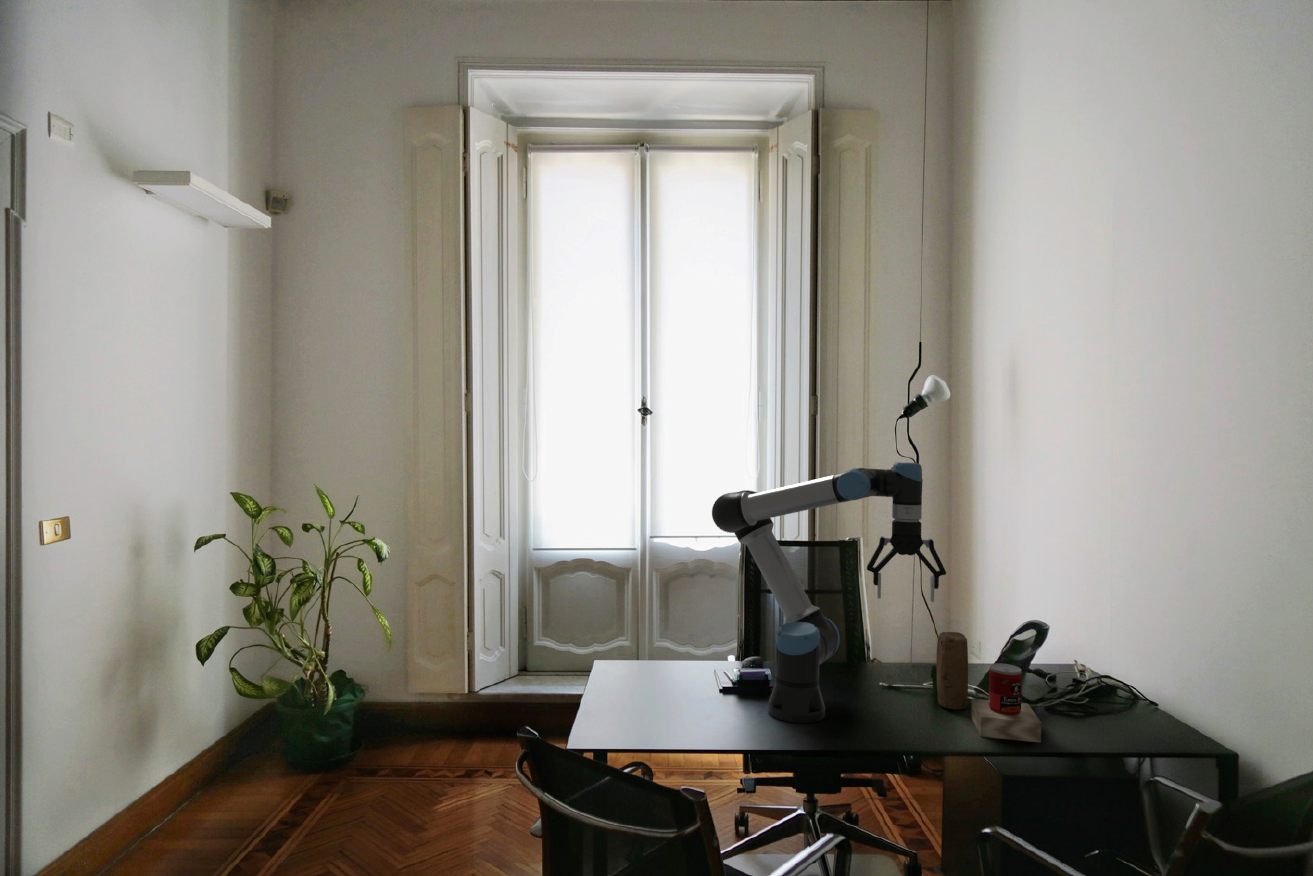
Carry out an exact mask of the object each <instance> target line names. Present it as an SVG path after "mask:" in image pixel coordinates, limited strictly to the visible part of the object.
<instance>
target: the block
mask: <svg viewBox="0 0 1313 876" xmlns="http://www.w3.org/2000/svg"><path fill="white" fill-rule="evenodd" d="M936 643H937V645H936V659H935V660H936V661H935V663H936V691H937V701H938V704H939V705H940V706H941V707H942V708H945V709H949V710H957V711H960V710H963V709H965V708H967V706H968V698H969V697H968V696H969V692H968V691H969V653H968V652H969V650H968V649H969V645H968V639H967V637H966V636H965V635H964V634H963V633H962V632H958V631H957V632H956V631H941V633H939V635H938V639H937V642H936Z"/></svg>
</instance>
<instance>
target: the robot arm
mask: <svg viewBox="0 0 1313 876" xmlns="http://www.w3.org/2000/svg"><path fill="white" fill-rule="evenodd" d="M923 480H924V479H923V467H922V465H921V464H920V463H918V462H899V461H898V462H894V463H893V466H892V468H891V469H889V468H888V469H887V468H886V469H884V468H883V469H881V468H865V467H857V468H856V467H854V468H851V469H849V470H847V471H845V472H842V473H838V474H832V475H829V476H824V477H820V478H816V479H811V480H807V481H803V482H798V483H795V484H789V485H785V486H782V487H777V488H772V489H768V490H764V491H760V492H757V491H753V490H745V489H744V490H740V491H736V492H728V493H724V494H722V495H721V496H719V497H718V498H717V499H716V500H715V501H714V503H713V505H712V509H711V518H712V521H713V522H714V524H715V525H716V527H717V528H718V529H719V530H721V531H722V532H725V533H730V534H731V533H734V535H735V537H736V539H737V541H738V542H739V543H741V544H744V545H745V546H747V548H748V551H749V552H750V554H751V556H752V558H753V560H754V562H755V564H756V565H757V568H758V570H759V571H760V573H761V575H762V577H763V579H764V580H765V583H766V584H767V586H768V588H769V590H770V591H771V594H772V595H773V598H774V600H775V601H776V602H777V605H778V606H779V608H780V611H781V613H782V615H783V616H784V618H785V619H784V620H785V621H784V623H783V624H781V625H780V626H779V627H778V628H777V630H776V635H775V639H774V640H775V642H774V643H775V670H774V671H775V673H774V674H775V678H774V680H775V681H774V686H773V688H772V691H771V694H770V697H769V700H768V706H767V709H768V710H767V712H768V714H769V715H770V716H772V717H774V718H776V719H778V720H781V721H784V722H788V723H795V724H797V723H798V724H809V723H810V724H811V723H816V722H819V721H821V720H823V719H824V718H825V717H826V706H825V703H824V699H823V696H822V693H821V689H820V665H821V664H823V663H824V662H825V661H827V660H830V659H831V658H832V657H833V656H834V654H835V653H836V652H837V650H838V649H839V646H840V632H839V629H838V627H837V626H836V624H835V623H834V622H833V621H832V620H831V619H830V618H827V617H825V615H824V613H823V611H822V610H821V608H820V607H819V606H815V605H813V604H812V602H811V600H810V598H809V596H808V595H807V593H806V591H805V589H804V587H803V585H802V584H801V582H800V581H799V578H798V576H797V575H796V573H795V571H794V569H793V567H792V566H791V564H790V562H789V560H788V558H787V556H786V555H785V553H784V551H783V550H782V547H781V546H780V543H779V542H778V540H777V538H776V537H775V535H774V533H773V528H774V524H775V523H774V522H773V519H772V518H775V517H776V518H777V517H781V516H785V515H789V514H794V513H800V512H804V511H808V510H813V509H817V508H822V507H826V506H831V505H837V504H841V503H848V502H851V501H858V500H862V499H864V498H865V499H866V498H869V497H880V498H881V497H885V498H892V503H891V504H892V506H891V507H892V508H891V511H892V512H891V513H892V514H891V517H892V519H894V520H892V521H891V537H890V538H889V537H884V536H880V537H879V539H878V540H879V541H878V546H877V547H876V549H875V550H874V553H873V554H872V556H871V558H870V560H869V562H868V563H867V566H866V570H867V571H868V572H871V573H872V574H873V576H872V579H873V580H872V583H873V586H877V595H876V596H877V597H876V598H877V599H878V600H879V599H881V595H882V573H881V572H880V571H881V570H883V569H884V568H885V566H886V565H887V564H888V563H889V562H890V561H891V560H892V559H893V558H894V557H895V556H897V554H899V555H900V556H912V557H913V555H917V557H918V558H919V559H920V560H921V561H922V563H924V566H926V567H927V568H928V570H929V571H930V573H932V575H930V579H929V580H930V581H929V601H930V602H932V603H934V602H935V590H938V589H939V585H940V584H939V583H940V577H941V576H946V574H947V571H946V568H945V567H944V565H943V563H942V561H941V559H940V557H939V554H938V553H937V551H936V549H935V543H934V540H933V539H932V538H928V539H922V522H921V521H920V520H922V517H923V516H922V515H923V513H922V509H923V507H922V506H923V505H922V504H923V503H922V502H923V500H922V499H923ZM889 543H890V545H891V547H892V549H890V551H889V552H888V553H886V555H885V556H884V557H883V558H882V560H880V562H879V563H878V564H877V565H876V566H875V564H876V563H877V561H878V559H879V557H880V556H881V553H882V551H883V550H884V547H885V546H887V545H888V544H889ZM923 545H925V547H926V548H927V549H929V551H930V554H931V556H932V558H933V560H934V562H935V564H936V566H937V568H938V570H936V568H935V567H934V566H933V565H932V564H931V562H930V561H929V560H928V559H927V558H926V556H925V555H924V554H923V552H922V551H921V550H920V549H921V547H922V546H923Z"/></svg>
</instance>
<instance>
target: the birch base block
mask: <svg viewBox="0 0 1313 876" xmlns="http://www.w3.org/2000/svg"><path fill="white" fill-rule="evenodd" d="M970 715H971V719H972V722H973V724H974V726H975V728H976V730H977V733H978V734H979V736H980V737H981V738H991V739H992V738H993V739H1001V740H1011V741H1021V742H1032V743H1040V744H1041V742H1042V722H1041V720H1040V719H1039V717H1038V715H1036V713H1035V711H1034V710H1033V709H1032V708H1031V706H1030V705H1029V703H1026V702H1025V703H1024V702H1021V711H1020V713H1019V714H1017V715H1005V714H1000V713H997V712H994V711H992V710H991V709H990V707H989V699H981V698H980V699H979V698H971V713H970Z"/></svg>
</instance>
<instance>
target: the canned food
mask: <svg viewBox="0 0 1313 876" xmlns="http://www.w3.org/2000/svg"><path fill="white" fill-rule="evenodd" d="M988 669H989V671H988V672H989V673H988V676H989V677H988V700H989V707H990V709H991V710H992V711H994V712H997V713H1000V714H1005V715H1017V714H1019V713H1020V711H1021V703H1022V697H1023V696H1022V693H1023V692H1022V687H1023V672H1022V671H1023V670H1022V669H1021V668H1020V667H1019V666H1016V665H1013V664H1010V663H1009V664H1008V663H1001V662H1000V663H992V664H989V668H988Z"/></svg>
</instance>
